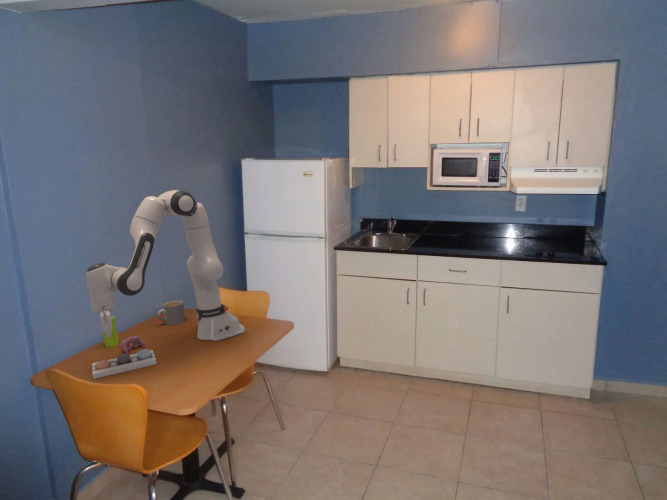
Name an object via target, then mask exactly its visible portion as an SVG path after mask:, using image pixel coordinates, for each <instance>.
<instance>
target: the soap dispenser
mask: <svg viewBox="0 0 667 500" xmlns="http://www.w3.org/2000/svg"><path fill="white" fill-rule="evenodd" d="M111 320H112V326H113V331H111V334H112V336H111V337H107V334H106V333H103V332H102V337H103V340H104V347H106V348H113V347H117V346H118V345H120V343H119V336H118V329H117V323H116V318H115V316H112V315H111Z"/></svg>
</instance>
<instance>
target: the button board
mask: <svg viewBox="0 0 667 500" xmlns="http://www.w3.org/2000/svg"><path fill="white" fill-rule="evenodd" d="M149 350H150V349H149ZM150 355H151V358H149V359H145V360H138V354H137V353H131V354H130V360H131V362H130V363H127V364H123V365H118V362H117V357H116V358H110V359H107V360H104V361H109V363H110V368H105V369H101V370H97V369H96V364H97V363H98V362H99V361H97V362H93V363H91V367H92V368H91V369H92V379H93V380H95V379H98V378H103V377H107V376H111V375H116V374H119V373H124V372H130V371H133V370H137V369H142V368H146V367H150V366H155V365H157V364H158V362H157V358H156V356H155V353H154V350H153V349H151V350H150Z"/></svg>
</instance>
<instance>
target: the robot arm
mask: <svg viewBox="0 0 667 500" xmlns="http://www.w3.org/2000/svg"><path fill="white" fill-rule="evenodd" d="M167 215H169V216H174V217H175V216H176V217H177V216H180V218H181V219H182V222H183V227H184V233H185V237H186V242H187V246H188V248H189V249H190V252H191V255H190V256H189V257H188V259H187V260H186V269H187V270H188V272H189V276H190V279H191V283H192V286H193V289H194V295H195V301H196V307H195V308H196V310H195V311H196V319H197V321H198V323H197V325H198V326H197V334H196V338H197V339H199V340H202V341H214V342H218V341H220V340H223V339H227V338H230V337H231V338H232V337H233V336H237V335H240V334H243V333H245V332H246V329H245V328H246V327H245V326H244V325H243V324H241V323H240V322H239V318H238V317H237V316H236V315H234V314H232V313H231V312H229V307H228V306H227V305H225V304H223V303H221V300H222V299H221V293H220V288H219V286H218V283H217V280H219V279H220V278H222V276H223V274H224V266H223V263H222V262H221V260H220V258H219V256H218V252H217V250H216V247H215V245H214V242H213V237H212V236H213V235H212V231H211V227H210V226H211V225H210V221H209V217H208V213H207V211H206V209H205V206H204V205H203V204H202V202H198V201H196V200H195V197H194V196H193V195H192V194H191V193H190V192H188V191H185V190H178V189H172V190H164V191H162V192H160V193H159V194H158V195H156V196H155V195H154V196H153V195H150V196H149V195H148V196H146V197H144V199H143V200H142V201H141V203H140V204H139V205H138V208H137V210H136V211H135V213H134V215H133V218H132V220H131V222H130V227H129V234H130V236H131V238H132V239H133V242H134V244H135V247H134V252H133V254H132V258H131V261H130V263H129V266H128V267H127V268H126V267H123V266H114V265H109V264H107V263H106V262H100V263H96V264H92V265H91V266H90V267H88V268H87V270H86V274H85V275H86V276H85V277H86V278H85V279H86V285H87V290H88V291H89V301H90V306H91V311H93V312H95V313H96V314H97V315H99V317H100V323H101V330H102V334H103V333H106V334H107V337H111V336H112V334H111V331H113V326H112V320H111V316H112V312H113V311H114V308H115V307H116V305H117V304H116V299H115V292H120V293H122V294H123V295H124V296H129V297H132V296H136V295H138V294H139V293H140V292H141V291H142V290H143V289H144V287H145V284H146V283H145V281H146V276H145V275H146V270H147V267H148V265H149V261H150V259H151V255H152V252H153V249H154V246H155V245H154V244H155V240H156V237H157V234H158V233H159V229H160V227H161V224H162V222H163V220H164V218H165V217H166V216H167Z"/></svg>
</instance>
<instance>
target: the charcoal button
mask: <svg viewBox="0 0 667 500" xmlns="http://www.w3.org/2000/svg"><path fill="white" fill-rule="evenodd" d="M130 355H131V354H130V353H129V352H128V353H125V352H124V353H121V354H118V355H117V356H116V358H117V362H118V365H123V364H127V363H132V362H131V360H130ZM118 365H117V366H118Z"/></svg>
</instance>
